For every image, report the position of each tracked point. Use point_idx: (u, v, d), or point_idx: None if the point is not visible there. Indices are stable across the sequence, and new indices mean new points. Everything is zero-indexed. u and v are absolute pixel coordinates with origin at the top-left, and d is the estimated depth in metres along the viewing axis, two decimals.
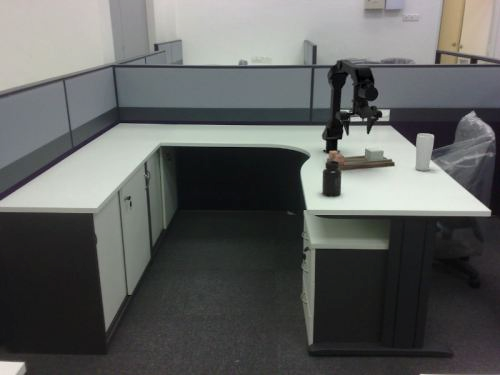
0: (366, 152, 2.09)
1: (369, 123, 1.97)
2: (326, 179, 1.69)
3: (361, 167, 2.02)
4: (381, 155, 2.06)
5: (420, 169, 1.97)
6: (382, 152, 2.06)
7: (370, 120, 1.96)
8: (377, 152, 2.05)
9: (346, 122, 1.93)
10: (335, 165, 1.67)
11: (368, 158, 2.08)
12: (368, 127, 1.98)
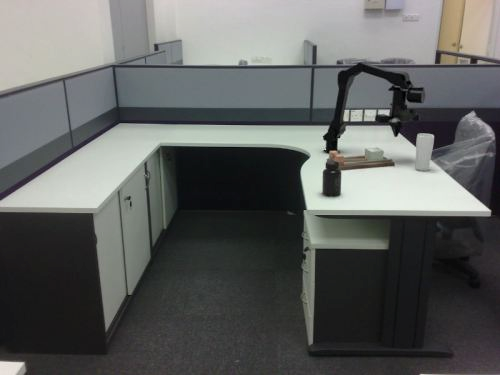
0: (366, 152, 2.09)
1: (397, 126, 2.06)
2: (326, 179, 1.69)
3: (361, 167, 2.02)
4: (381, 155, 2.06)
5: (420, 169, 1.97)
6: (382, 152, 2.06)
7: (399, 123, 2.06)
8: (377, 152, 2.05)
9: (395, 124, 2.04)
10: (335, 165, 1.67)
11: (368, 158, 2.08)
12: None
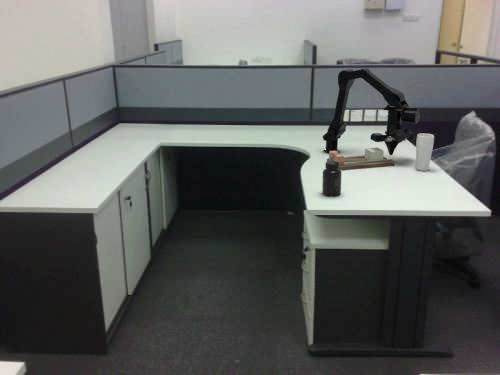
0: (366, 152, 2.09)
1: (393, 145, 2.09)
2: (326, 179, 1.69)
3: (361, 167, 2.02)
4: (381, 155, 2.06)
5: (420, 169, 1.97)
6: (382, 152, 2.06)
7: (394, 142, 2.08)
8: (377, 152, 2.05)
9: (390, 143, 2.06)
10: (335, 165, 1.67)
11: (368, 158, 2.08)
12: None
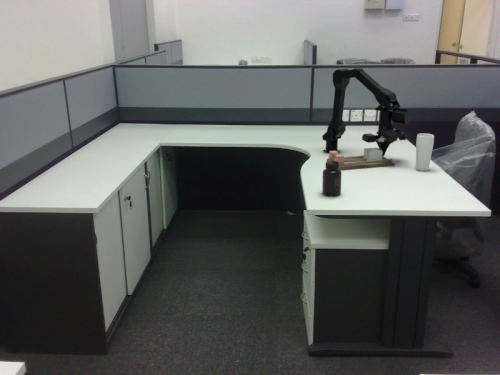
0: (365, 152, 2.09)
1: (384, 145, 2.08)
2: (326, 179, 1.69)
3: (361, 167, 2.02)
4: (380, 155, 2.06)
5: (420, 169, 1.97)
6: (381, 152, 2.06)
7: (385, 142, 2.07)
8: (376, 152, 2.05)
9: (382, 143, 2.05)
10: (335, 165, 1.67)
11: (367, 158, 2.08)
12: None
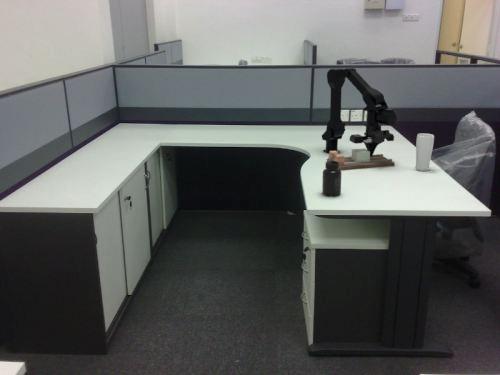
0: (352, 153, 2.08)
1: (372, 146, 2.07)
2: (326, 179, 1.69)
3: (361, 167, 2.02)
4: (367, 156, 2.05)
5: (420, 169, 1.97)
6: (368, 153, 2.05)
7: (373, 143, 2.06)
8: (363, 153, 2.04)
9: (369, 144, 2.04)
10: (335, 165, 1.67)
11: (354, 159, 2.07)
12: None
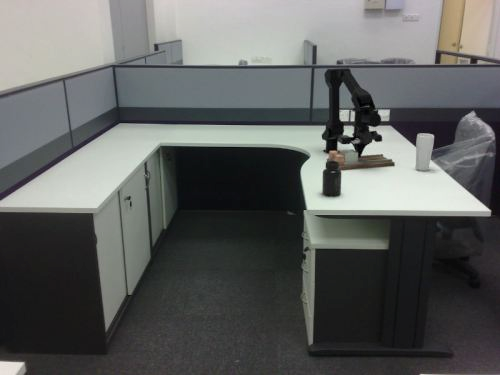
0: (341, 154, 2.07)
1: (360, 147, 2.06)
2: (326, 179, 1.69)
3: (361, 167, 2.02)
4: (355, 157, 2.04)
5: (420, 169, 1.97)
6: (356, 154, 2.04)
7: (361, 144, 2.05)
8: (351, 154, 2.03)
9: (357, 145, 2.03)
10: (335, 165, 1.67)
11: None
12: None
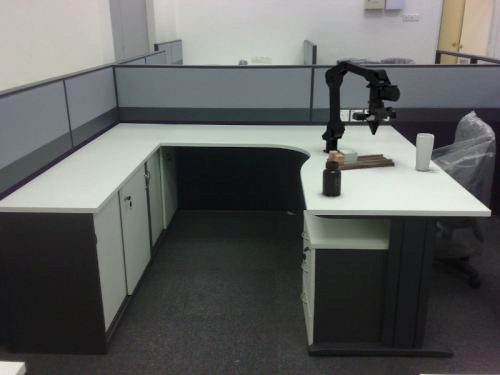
0: None
1: (375, 124, 2.04)
2: (326, 179, 1.69)
3: (361, 167, 2.02)
4: (355, 157, 2.04)
5: (420, 169, 1.97)
6: (356, 154, 2.04)
7: (376, 121, 2.03)
8: (351, 154, 2.03)
9: (372, 122, 2.01)
10: (335, 165, 1.67)
11: None
12: None
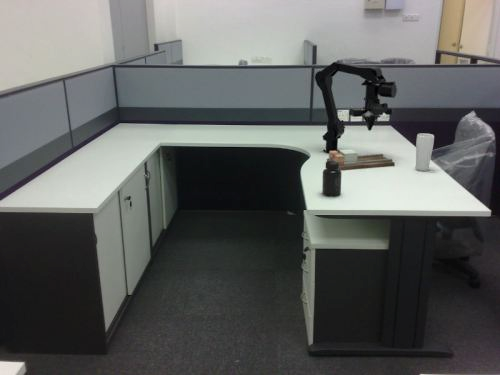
0: None
1: (371, 120, 2.11)
2: (326, 179, 1.69)
3: (361, 167, 2.02)
4: (355, 157, 2.04)
5: (420, 169, 1.97)
6: (356, 154, 2.04)
7: (372, 117, 2.11)
8: (351, 154, 2.03)
9: (368, 118, 2.09)
10: (335, 165, 1.67)
11: None
12: None
